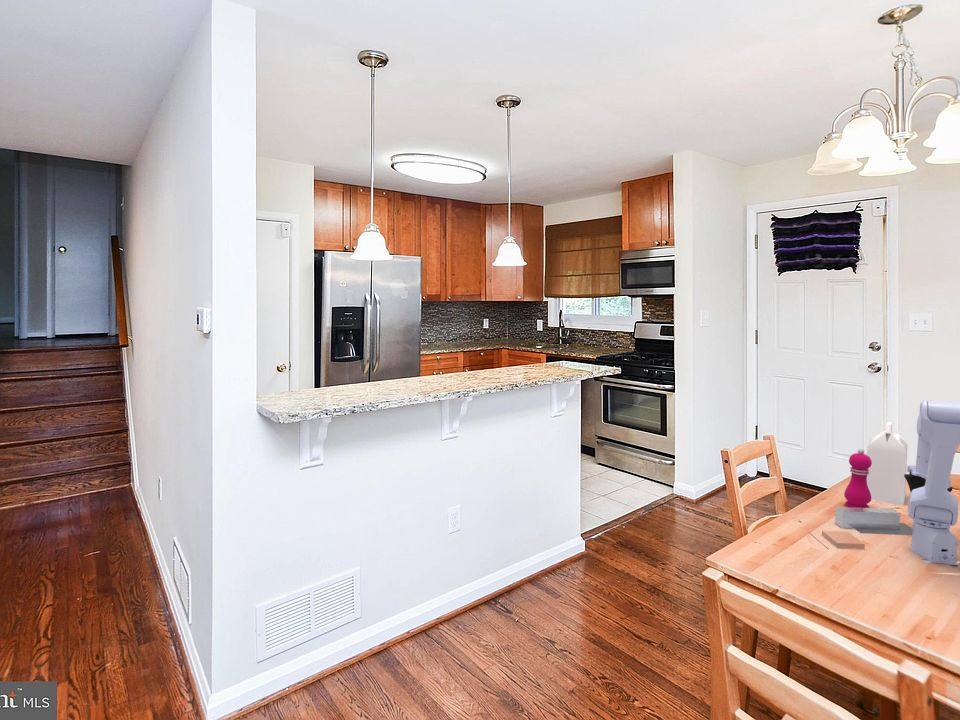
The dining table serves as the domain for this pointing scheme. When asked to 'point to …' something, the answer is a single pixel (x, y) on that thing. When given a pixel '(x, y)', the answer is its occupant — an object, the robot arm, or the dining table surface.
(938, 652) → the dining table surface
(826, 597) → the dining table surface
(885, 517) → the bar
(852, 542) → the tile
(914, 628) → the dining table surface
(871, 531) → the board
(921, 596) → the dining table surface
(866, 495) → the pepper mill
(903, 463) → the milk
